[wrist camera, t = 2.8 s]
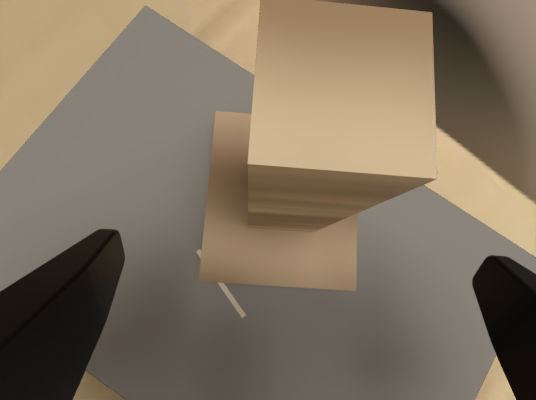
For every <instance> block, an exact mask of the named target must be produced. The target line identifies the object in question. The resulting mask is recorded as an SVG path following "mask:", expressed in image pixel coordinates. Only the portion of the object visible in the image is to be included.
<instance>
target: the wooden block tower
mask: <svg viewBox="0 0 536 400" xmlns="http://www.w3.org/2000/svg"><path fill="white" fill-rule="evenodd" d="M435 122H436V120H435V89H434V57H433V25H432V13H431V12H422V11H413V10H402V9H393V8H383V7H374V6H364V5H354V4H344V3H334V2H324V1H314V0H260V12H259V25H258V38H257V50H256V63H255V76H254V88H253V101H252V114H247V113H235V112H223V111H216V113H215V123H214V133H213V143H212V153H211V163H210V173H209V183H208V193H207V203H206V213H205V223H204V232H203V242H202V252H201V262H200V272H199V281H202V282H218V283H234V284H250V285H266V286H283V287H299V288H315V289H331V290H347V291H356V277H357V213H359V212H362V211H364V210H366V209H369V208H371V207H373V206H376V205H378V204H380V203H383V202H385V201H387V200H389V199H392V198H394V197H396V196H399V195H401V194H403V193H406V192H408V191H410V190H413V189H415V188H417V187H420V186H422V185H424V184H427V183H429V182H431V181H433V180H436V179H437V151H436V123H435Z"/></svg>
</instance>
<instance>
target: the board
mask: <svg viewBox="0 0 536 400" xmlns="http://www.w3.org/2000/svg"><path fill="white" fill-rule="evenodd" d="M253 88H254V75H253V74H251V73H250V72H248V71H247V70H245V69H243V68H242V67H240V66H239V65H237V64H236V63H234V62H233V61H231V60H230V59H228V58H226V57H225V56H223V55H222V54H220V53H219V52H217V51H216V50H214V49H212V48H211V47H209V46H208V45H206V44H205V43H203V42H202V41H200V40H199V39H197V38H195V37H194V36H192V35H191V34H189V33H188V32H186V31H185V30H183V29H182V28H180V27H178V26H177V25H175V24H174V23H172V22H171V21H169V20H168V19H166V18H164V17H163V16H161V15H160V14H158V13H157V12H155V11H154V10H152V9H151V8H149V7H147V6H146V5H145V6H144V7H143V9H142V10H141V11H140V12H139V13H138V14H137V15H136V17H135V18H134V19H133V20H132V21H131V22H130V23H129V25H128V26H127V27H126V28H125V29H124V30H123V31H122V33H121V34H120V35H119V36H118V37H117V38H116V39H115V41H114V42H113V43H112V44H111V45H110V46H109V47H108V49H107V50H106V51H105V52H104V53H103V54H102V55H101V57H100V58H99V59H98V60H97V61H96V62H95V63H94V65H93V66H92V67H91V68H90V69H89V70H88V71H87V73H86V74H85V75H84V76H83V77H82V78H81V79H80V81H79V82H78V83H77V84H76V85H75V86H74V87H73V89H72V90H71V91H70V92H69V93H68V94H67V95H66V97H65V98H64V99H63V100H62V101H61V102H60V103H59V105H58V106H57V107H56V108H55V109H54V110H53V111H52V113H51V114H50V115H49V116H48V117H47V118H46V119H45V121H44V122H43V123H42V124H41V125H40V126H39V127H38V128H37V130H36V131H35V132H34V133H33V134H32V135H31V136H30V138H29V139H28V140H27V141H26V142H25V143H24V144H23V146H22V147H21V148H20V149H19V150H18V151H17V152H16V154H15V155H14V156H13V157H12V158H11V159H10V160H9V162H8V163H7V164H6V165H5V166H4V167H3V168H2V170H1V171H0V291H1V290H3V289H5V288H6V287H8V286H9V285H11V284H13V283H14V282H16V281H17V280H19V279H20V278H22V277H24V276H25V275H27V274H28V273H30V272H31V271H33V270H35V269H36V268H38V267H39V266H41V265H43V264H44V263H46V262H47V261H49V260H50V259H52V258H54V257H55V256H57V255H58V254H60V253H62V252H63V251H65V250H66V249H68V248H69V247H71V246H73V245H74V244H76V243H77V242H79V241H80V240H82V239H84V238H85V237H87V236H88V235H90V234H92V233H93V232H95V231H96V230H98V229H116V230H118V231H119V233H120V235H121V240H122V244H123V248H124V253H125V262H124V266H123V270H122V273H121V276H120V279H119V282H118V286H117V289H116V292H115V295H114V299H113V302H112V305H111V308H110V312H109V315H108V318H107V321H106V323H105V326H104V328H103V331H102V333H101V336H100V338H99V340H98V342H97V345H96V347H95V349H94V352H93V354H92V356H91V358H90V361H89V363H88V365H87V368H86V371H87V372H88V373H90V374H91V375H93V376H94V377H95V378H97V379H98V380H99V381H101V382H102V383H104V384H105V385H106V386H108V387H109V388H111V389H112V390H113V391H115V392H116V393H117V394H119V395H120V396H122V397H123V398H124V399H126V400H475V398H476V396H477V394H478V392H479V390H480V388H481V386H482V384H483V382H484V380H485V378H486V375H487V373H488V371H489V369H490V367H491V365H492V363H493V361H494V359H495V357H496V353H495V350H494V348H493V346H492V343H491V340H490V337H489V335H488V332H487V329H486V326H485V323H484V320H483V317H482V314H481V311H480V308H479V305H478V301H477V298H476V295H475V292H474V289H473V286H472V279H473V276H474V275H475V273H476V272H477V270H478V269H479V267H480V265H481V264H482V262H483V261H484V259H485V258H486V257H488V256H490V255H498V256H507V257H509V258H511V259H513V260H514V261H516V262H517V263H519V264H521V265H522V266H524V267H525V268H527V269H529V270H530V271H532V272H533V273H536V257H535V256H533V255H532V254H530V253H528V252H527V251H525V250H524V249H522V248H521V247H519V246H518V245H516V244H515V243H513V242H511V241H510V240H508V239H507V238H505V237H504V236H502V235H501V234H499V233H497V232H496V231H494V230H493V229H491V228H490V227H488V226H487V225H485V224H484V223H482V222H480V221H479V220H477V219H476V218H474V217H473V216H471V215H470V214H468V213H466V212H465V211H463V210H462V209H460V208H459V207H457V206H456V205H454V204H453V203H451V202H449V201H448V200H446V199H445V198H443V197H442V196H440V195H439V194H437V193H436V192H434V191H432V190H431V189H429V188H428V187H426V186H425V185H422V186H420V187H417V188H415V189H413V190H410V191H408V192H406V193H403V194H401V195H399V196H396V197H394V198H392V199H389V200H387V201H385V202H383V203H380V204H378V205H376V206H373V207H371V208H369V209H366V210H364V211H362V212H359V213H357V277H356V291H347V290H331V289H315V288H299V287H283V286H266V285H250V284H234V283H218V282H202V281H199V272H200V262H201V252H202V242H203V232H204V223H205V213H206V203H207V193H208V183H209V173H210V163H211V153H212V143H213V133H214V123H215V113H216V111H223V112H235V113H247V114H252V101H253Z"/></svg>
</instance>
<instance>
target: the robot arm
mask: <svg viewBox="0 0 536 400" xmlns="http://www.w3.org/2000/svg"><path fill="white" fill-rule="evenodd" d="M124 262H125V253H124V248H123V244H122V240H121V235H120V233H119V231H118V230H116V229H98V230H96V231H95V232H93V233H92V234H90V235H88V236H87V237H85V238H84V239H82V240H80V241H79V242H77V243H76V244H74V245H73V246H71V247H69V248H68V249H66V250H65V251H63V252H62V253H60V254H58V255H57V256H55V257H54V258H52V259H50V260H49V261H47V262H46V263H44V264H43V265H41V266H39V267H38V268H36V269H35V270H33V271H31V272H30V273H28V274H27V275H25V276H24V277H22V278H20V279H19V280H17V281H16V282H14V283H13V284H11V285H9V286H8V287H6V288H5V289H3V290H1V291H0V400H73V397H74V395H75V393H76V390H77V388H78V386H79V384H80V381H81V379H82V377H83V374H84V372H85V370H86V368H87V365H88V363H89V361H90V358H91V356H92V354H93V352H94V349H95V347H96V345H97V342H98V340H99V338H100V336H101V333H102V331H103V328H104V326H105V323H106V321H107V318H108V315H109V312H110V308H111V305H112V302H113V299H114V295H115V292H116V289H117V286H118V282H119V279H120V276H121V273H122V270H123V266H124ZM472 286H473V289H474V292H475V295H476V298H477V301H478V305H479V308H480V311H481V314H482V317H483V320H484V323H485V326H486V329H487V332H488V335H489V337H490V340H491V343H492V346H493V348H494V350H495V353H496V355H497V357H498V360H499V362H500V364H501V366H502V369H503V371H504V373H505V375H506V378H507V380H508V382H509V384H510V387H511V389H512V391H513V393H514V396H515V398H516V400H536V274H535V273H533V272H532V271H530V270H529V269H527V268H525V267H524V266H522V265H521V264H519V263H517V262H516V261H514V260H513V259H511V258H509V257H507V256H498V255H490V256H488V257H486V258H485V259H484V261H483V262H482V264H481V265H480V267H479V269H478V270H477V272H476V273H475V275H474V276H473V279H472Z"/></svg>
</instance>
